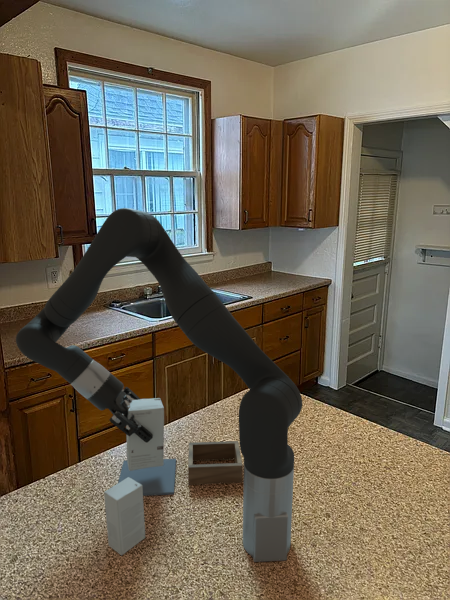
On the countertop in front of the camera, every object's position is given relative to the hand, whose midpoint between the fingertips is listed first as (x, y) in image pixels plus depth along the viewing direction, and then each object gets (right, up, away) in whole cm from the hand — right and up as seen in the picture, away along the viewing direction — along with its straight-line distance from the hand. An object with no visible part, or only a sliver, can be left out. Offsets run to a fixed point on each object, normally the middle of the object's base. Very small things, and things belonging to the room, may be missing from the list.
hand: (151, 430), depth 104 cm
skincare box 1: (-2, -17, -17) cm, 24 cm away
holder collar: (+14, -11, +6) cm, 19 cm away
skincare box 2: (-2, -8, +2) cm, 8 cm away
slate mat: (-1, -12, +3) cm, 12 cm away
